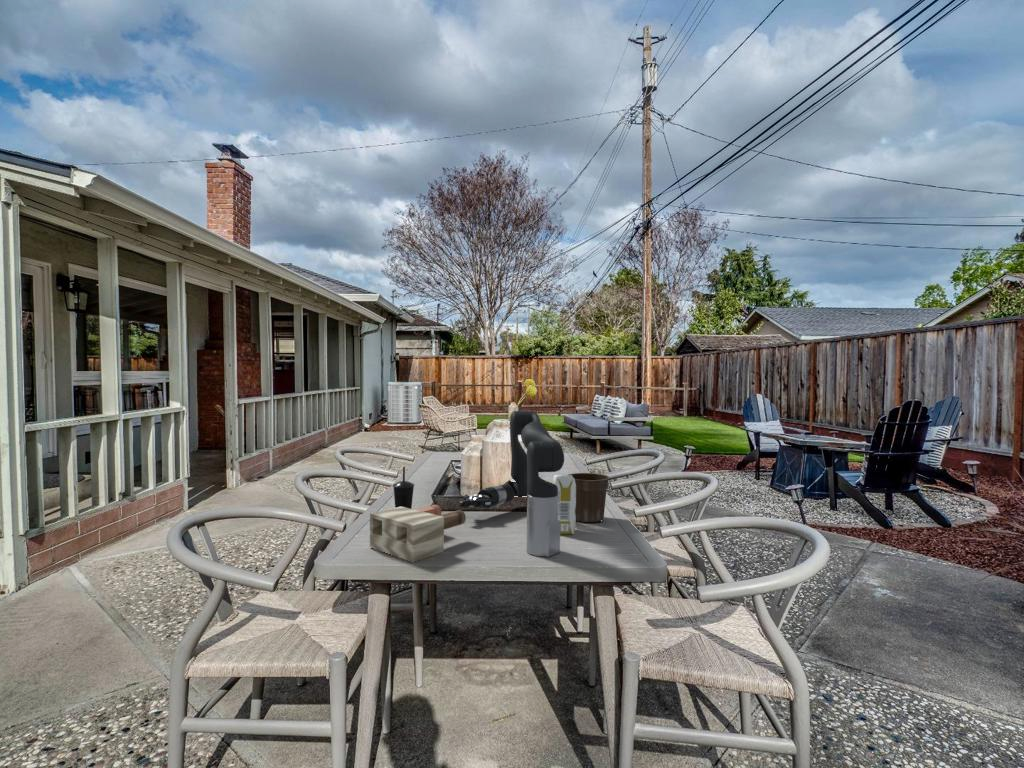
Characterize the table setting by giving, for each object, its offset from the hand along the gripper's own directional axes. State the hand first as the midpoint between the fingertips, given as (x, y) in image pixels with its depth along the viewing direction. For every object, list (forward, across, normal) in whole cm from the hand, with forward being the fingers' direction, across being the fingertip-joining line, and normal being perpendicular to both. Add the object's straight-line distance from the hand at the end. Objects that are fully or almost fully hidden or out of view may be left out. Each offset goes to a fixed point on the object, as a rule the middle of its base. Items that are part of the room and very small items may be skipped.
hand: (461, 504), depth 182 cm
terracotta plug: (+20, 0, +2) cm, 20 cm away
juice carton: (-16, +32, +7) cm, 37 cm away
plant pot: (-36, +30, +7) cm, 48 cm away
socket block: (+30, +6, +7) cm, 32 cm away
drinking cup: (+12, -18, +7) cm, 22 cm away
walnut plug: (+20, +11, +2) cm, 23 cm away
